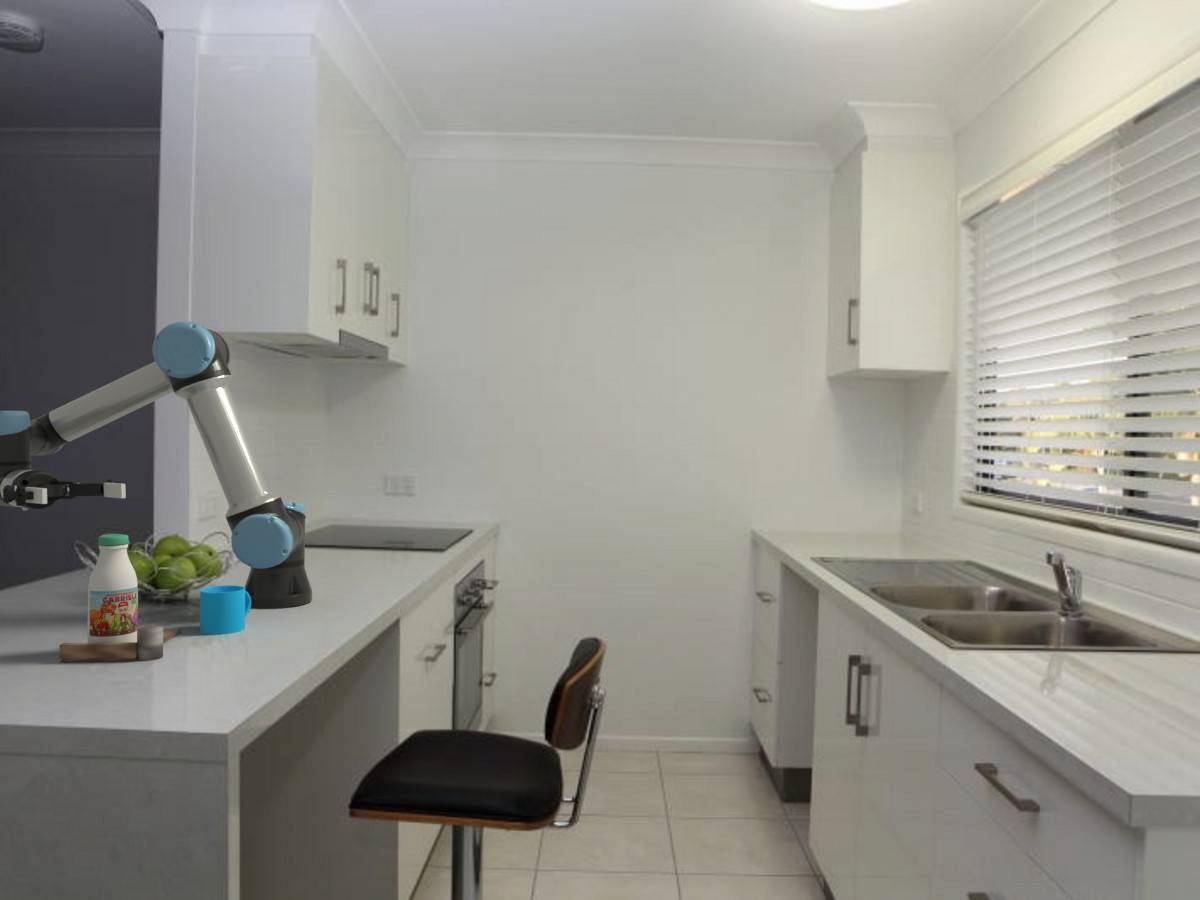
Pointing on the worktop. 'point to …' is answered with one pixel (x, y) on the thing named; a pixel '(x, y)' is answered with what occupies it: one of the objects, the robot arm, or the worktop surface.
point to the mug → (223, 609)
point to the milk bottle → (112, 594)
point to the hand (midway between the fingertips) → (85, 493)
